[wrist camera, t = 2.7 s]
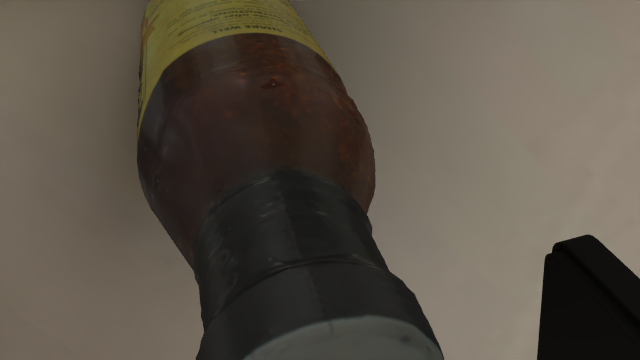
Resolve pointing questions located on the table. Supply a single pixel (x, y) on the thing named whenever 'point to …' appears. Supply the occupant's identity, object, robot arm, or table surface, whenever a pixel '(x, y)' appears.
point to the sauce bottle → (267, 187)
